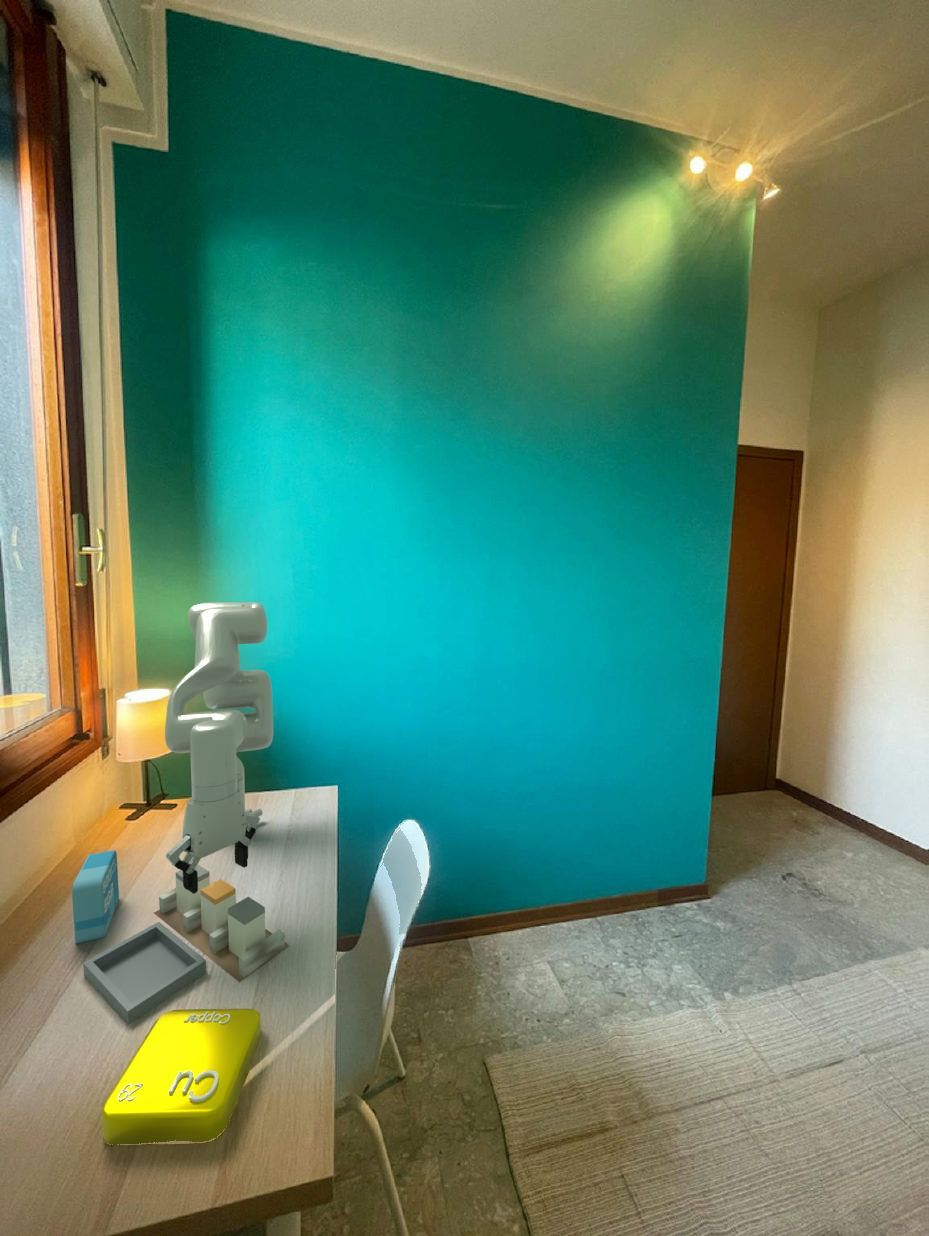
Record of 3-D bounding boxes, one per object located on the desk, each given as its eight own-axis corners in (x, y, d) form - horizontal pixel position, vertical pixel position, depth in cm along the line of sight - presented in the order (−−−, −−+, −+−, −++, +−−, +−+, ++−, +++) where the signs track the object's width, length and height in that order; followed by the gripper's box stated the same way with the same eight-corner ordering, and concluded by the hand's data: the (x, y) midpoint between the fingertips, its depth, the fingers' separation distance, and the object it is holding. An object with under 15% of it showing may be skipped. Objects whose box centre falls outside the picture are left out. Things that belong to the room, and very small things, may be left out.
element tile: (265, 1033, 76) (264, 1004, 76) (221, 1146, 61) (220, 1111, 61) (163, 1034, 76) (162, 1005, 75) (95, 1150, 61) (92, 1114, 60)
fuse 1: (196, 899, 104) (195, 863, 103) (210, 909, 101) (209, 871, 100) (177, 910, 101) (175, 872, 100) (190, 920, 98) (189, 882, 97)
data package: (105, 942, 93) (101, 881, 92) (75, 949, 91) (71, 886, 90) (119, 901, 104) (116, 846, 103) (93, 907, 102) (89, 851, 101)
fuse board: (203, 890, 108) (202, 873, 108) (290, 949, 92) (289, 930, 92) (153, 916, 100) (153, 898, 99) (239, 986, 84) (239, 965, 84)
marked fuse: (221, 917, 99) (220, 879, 98) (236, 927, 96) (235, 888, 95) (201, 929, 96) (200, 889, 95) (216, 940, 93) (215, 900, 92)
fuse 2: (249, 936, 94) (248, 896, 93) (265, 948, 91) (264, 907, 90) (229, 950, 91) (227, 908, 90) (245, 962, 88) (244, 920, 87)
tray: (159, 936, 95) (158, 921, 94) (206, 976, 86) (206, 960, 86) (84, 979, 85) (83, 963, 84) (128, 1029, 76) (127, 1011, 76)
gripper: (245, 769, 102) (247, 850, 103) (154, 800, 88) (158, 894, 89) (268, 778, 98) (270, 862, 99) (177, 811, 84) (180, 909, 85)
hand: (217, 877), depth 94 cm, fingers open, 9 cm apart
